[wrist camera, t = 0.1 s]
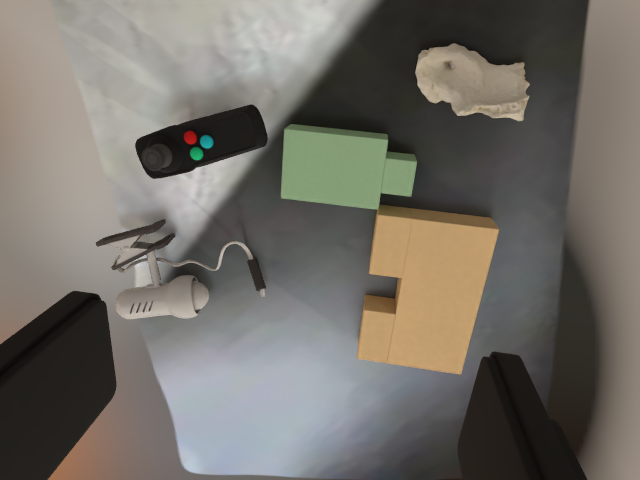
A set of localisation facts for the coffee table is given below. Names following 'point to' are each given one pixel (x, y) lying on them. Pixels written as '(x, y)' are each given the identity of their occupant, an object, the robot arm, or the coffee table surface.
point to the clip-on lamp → (158, 298)
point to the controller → (201, 142)
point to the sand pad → (426, 287)
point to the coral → (472, 82)
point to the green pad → (343, 167)
